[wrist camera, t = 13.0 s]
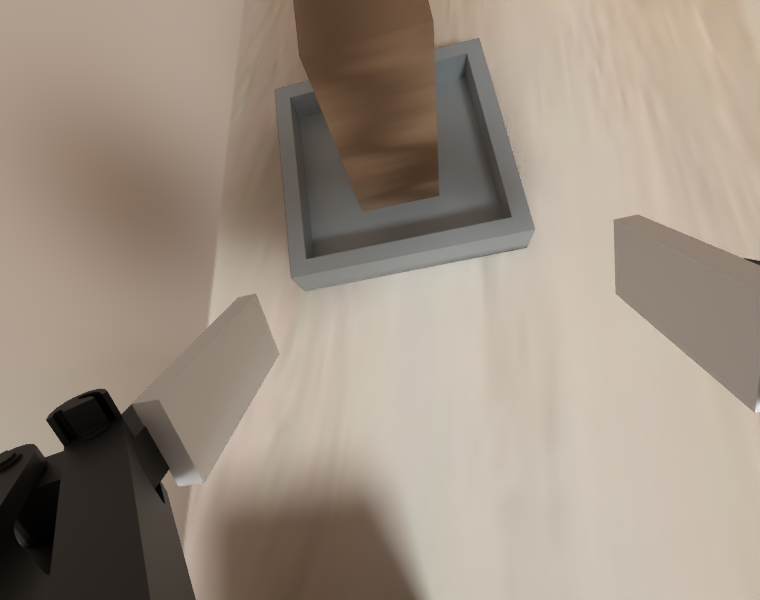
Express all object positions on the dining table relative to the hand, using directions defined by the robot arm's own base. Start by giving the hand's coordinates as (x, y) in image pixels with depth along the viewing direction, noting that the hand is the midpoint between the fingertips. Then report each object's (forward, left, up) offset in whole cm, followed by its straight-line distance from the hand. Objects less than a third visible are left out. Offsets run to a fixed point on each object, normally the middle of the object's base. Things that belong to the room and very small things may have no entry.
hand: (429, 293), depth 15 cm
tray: (+1, -12, -9) cm, 15 cm away
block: (+1, -11, -9) cm, 15 cm away
